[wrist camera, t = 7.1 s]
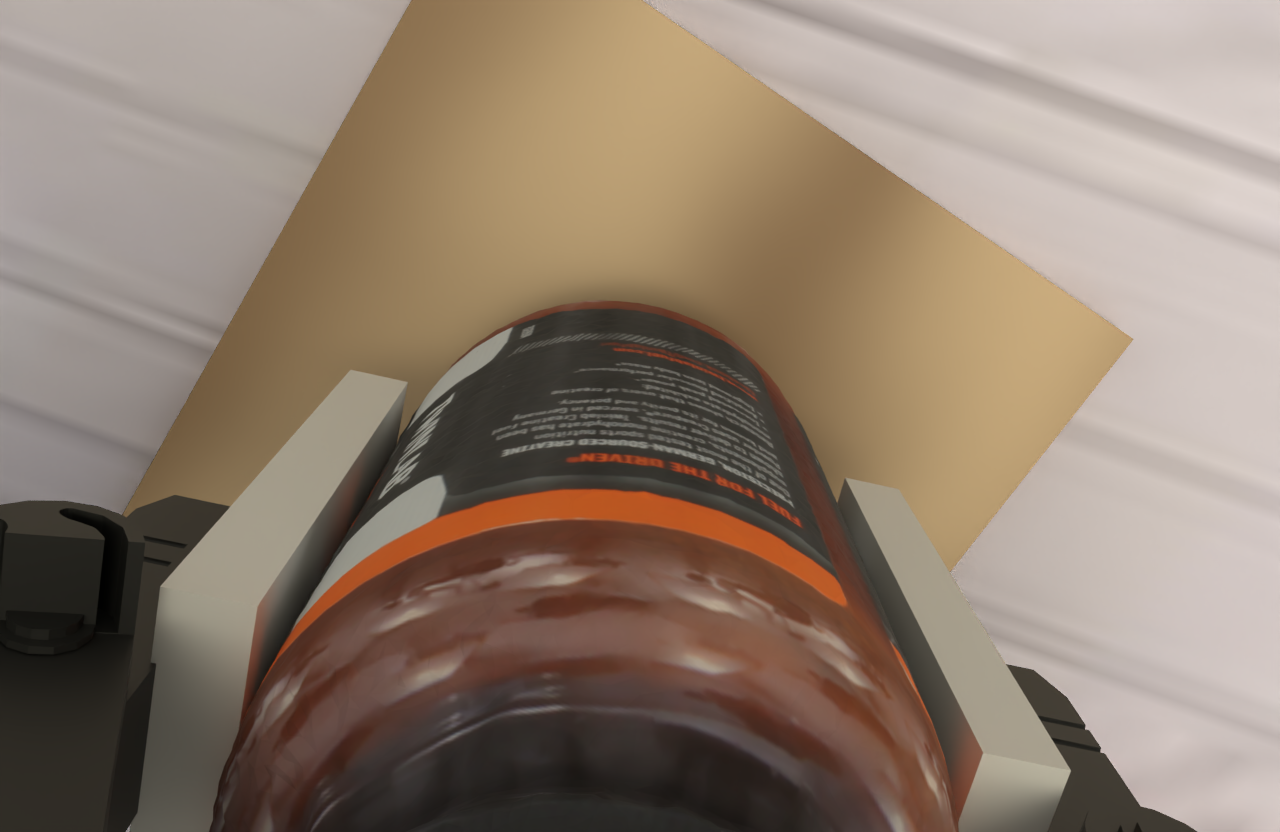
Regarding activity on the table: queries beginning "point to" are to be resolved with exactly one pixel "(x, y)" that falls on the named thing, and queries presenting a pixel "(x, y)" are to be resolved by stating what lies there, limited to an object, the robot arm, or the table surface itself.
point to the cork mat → (640, 259)
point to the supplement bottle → (593, 615)
